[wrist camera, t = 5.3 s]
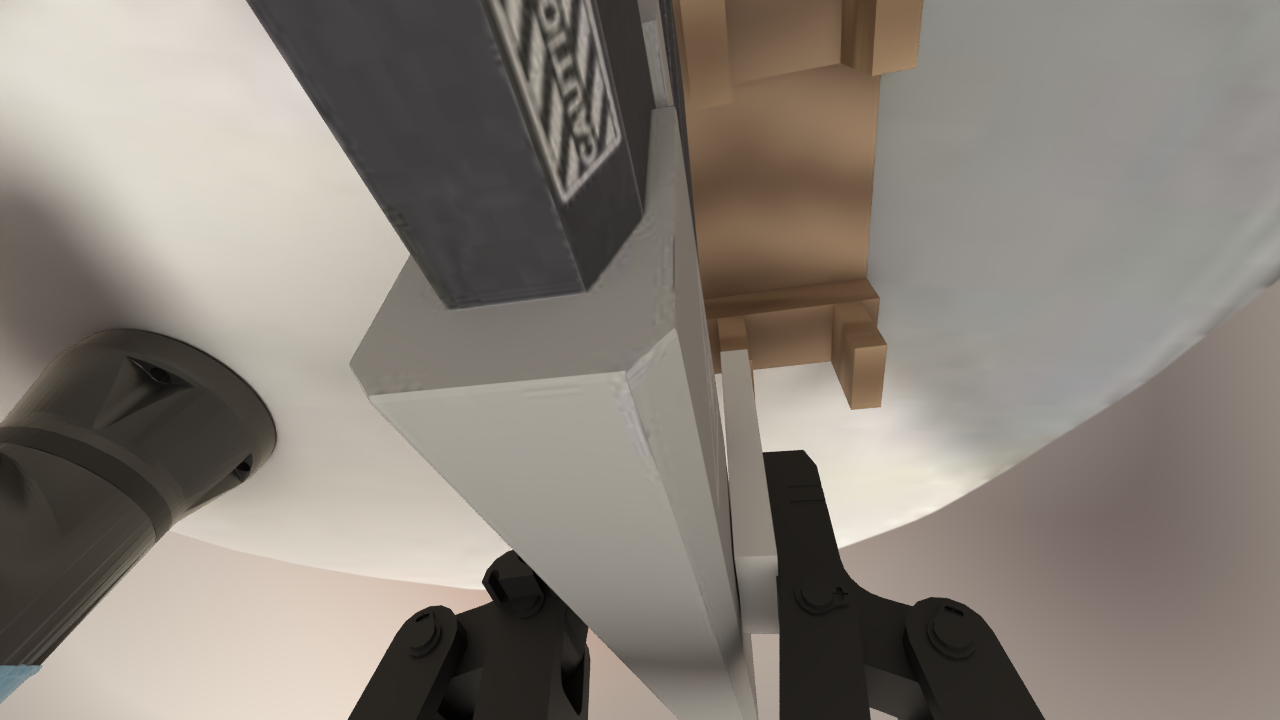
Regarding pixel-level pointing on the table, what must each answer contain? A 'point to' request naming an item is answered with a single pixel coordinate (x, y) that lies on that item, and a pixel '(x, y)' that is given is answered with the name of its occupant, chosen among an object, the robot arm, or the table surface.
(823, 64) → the display stand
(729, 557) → the gun
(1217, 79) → the table surface
